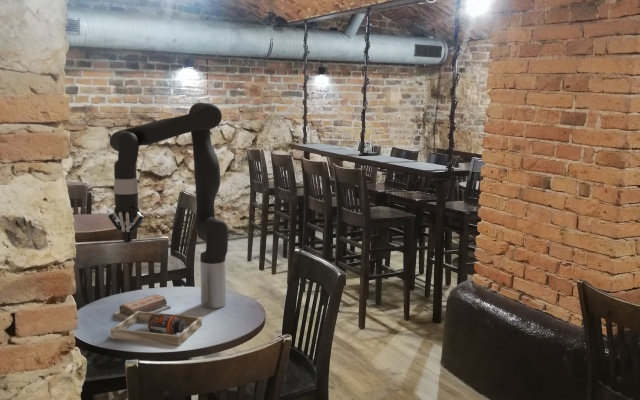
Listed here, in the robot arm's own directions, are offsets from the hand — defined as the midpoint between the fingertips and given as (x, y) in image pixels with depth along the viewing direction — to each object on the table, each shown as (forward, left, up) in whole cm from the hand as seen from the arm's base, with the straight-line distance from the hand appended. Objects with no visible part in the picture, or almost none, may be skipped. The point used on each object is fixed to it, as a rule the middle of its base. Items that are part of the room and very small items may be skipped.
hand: (127, 242), depth 216 cm
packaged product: (-12, -2, -30) cm, 32 cm away
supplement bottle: (+4, +10, -26) cm, 28 cm away
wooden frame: (+4, +12, -29) cm, 32 cm away
